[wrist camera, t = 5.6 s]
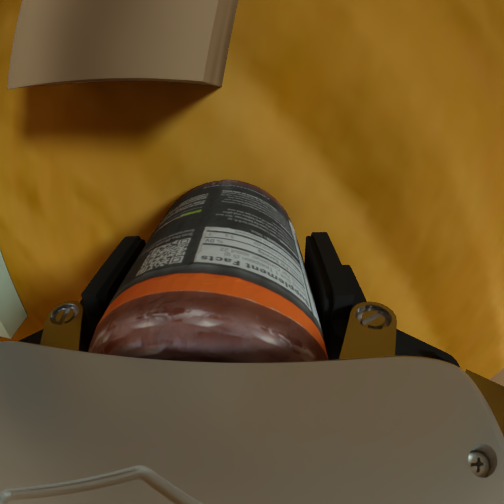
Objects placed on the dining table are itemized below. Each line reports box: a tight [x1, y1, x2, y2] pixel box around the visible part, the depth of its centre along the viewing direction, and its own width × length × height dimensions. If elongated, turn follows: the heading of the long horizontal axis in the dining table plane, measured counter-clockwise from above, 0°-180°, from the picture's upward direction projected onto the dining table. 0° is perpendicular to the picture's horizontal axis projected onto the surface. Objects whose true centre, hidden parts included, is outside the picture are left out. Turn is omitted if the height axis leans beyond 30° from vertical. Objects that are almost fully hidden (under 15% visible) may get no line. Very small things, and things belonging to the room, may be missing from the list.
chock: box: [7, 0, 238, 89], centre depth 7 cm, size 7×5×4 cm
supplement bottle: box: [88, 180, 329, 363], centre depth 9 cm, size 6×6×11 cm
